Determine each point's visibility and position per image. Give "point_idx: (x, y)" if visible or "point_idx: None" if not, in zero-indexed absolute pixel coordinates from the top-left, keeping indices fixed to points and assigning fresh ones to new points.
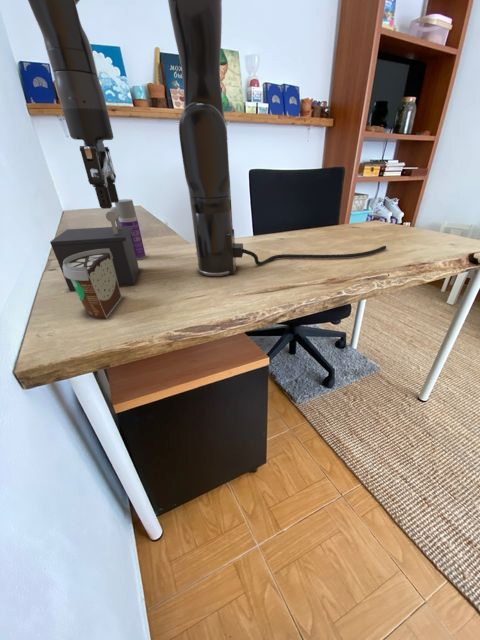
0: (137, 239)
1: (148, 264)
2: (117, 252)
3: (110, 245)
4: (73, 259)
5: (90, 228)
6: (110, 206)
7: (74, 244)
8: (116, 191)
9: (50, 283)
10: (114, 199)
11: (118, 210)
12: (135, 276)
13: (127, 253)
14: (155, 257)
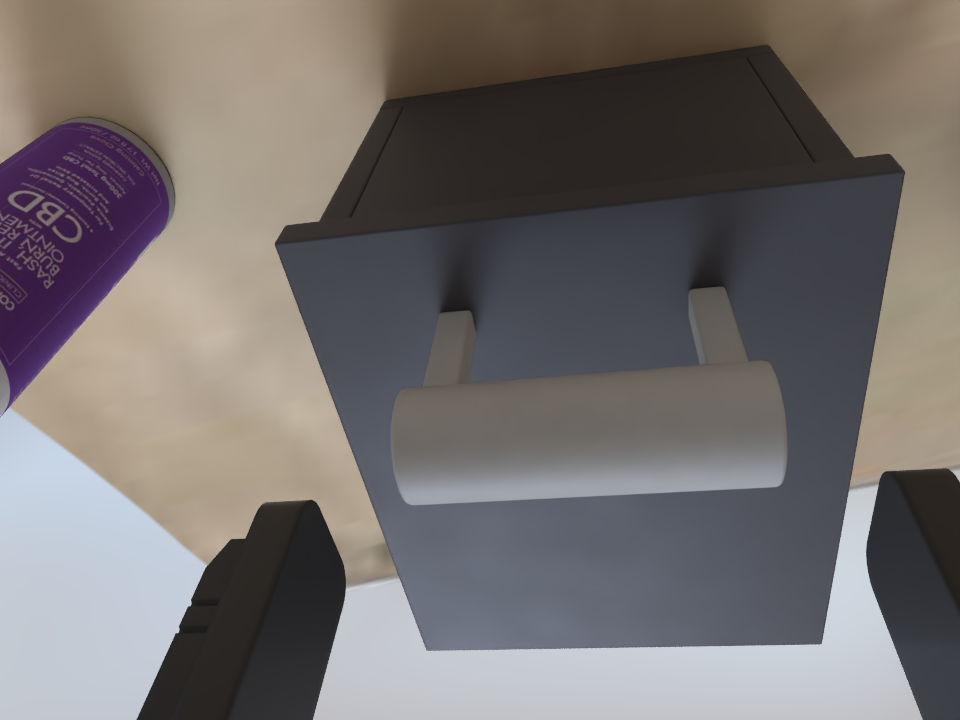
0: (49, 210)
1: (261, 47)
2: None
3: None
4: None
5: (402, 542)
6: (954, 484)
7: None
8: (229, 615)
9: None
10: (316, 553)
11: (453, 421)
12: (621, 72)
13: (741, 142)
14: (59, 26)
